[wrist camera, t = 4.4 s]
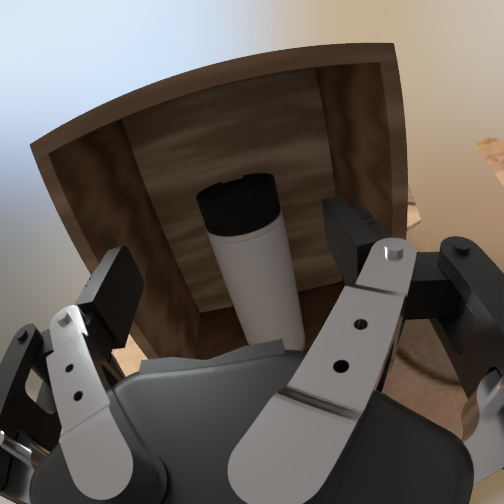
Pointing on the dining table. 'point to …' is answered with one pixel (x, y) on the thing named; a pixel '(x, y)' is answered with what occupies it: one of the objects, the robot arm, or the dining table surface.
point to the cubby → (229, 170)
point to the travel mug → (254, 257)
